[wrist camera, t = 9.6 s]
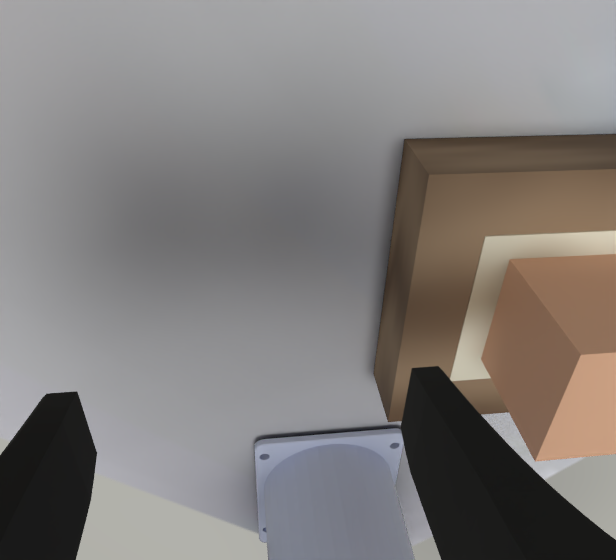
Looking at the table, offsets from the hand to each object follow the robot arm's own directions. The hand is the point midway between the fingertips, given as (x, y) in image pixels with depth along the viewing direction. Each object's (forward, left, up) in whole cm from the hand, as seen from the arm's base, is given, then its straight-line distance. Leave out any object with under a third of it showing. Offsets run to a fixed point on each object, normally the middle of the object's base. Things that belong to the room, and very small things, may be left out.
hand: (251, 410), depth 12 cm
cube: (-4, -12, -7) cm, 15 cm away
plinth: (-4, -12, -10) cm, 16 cm away
